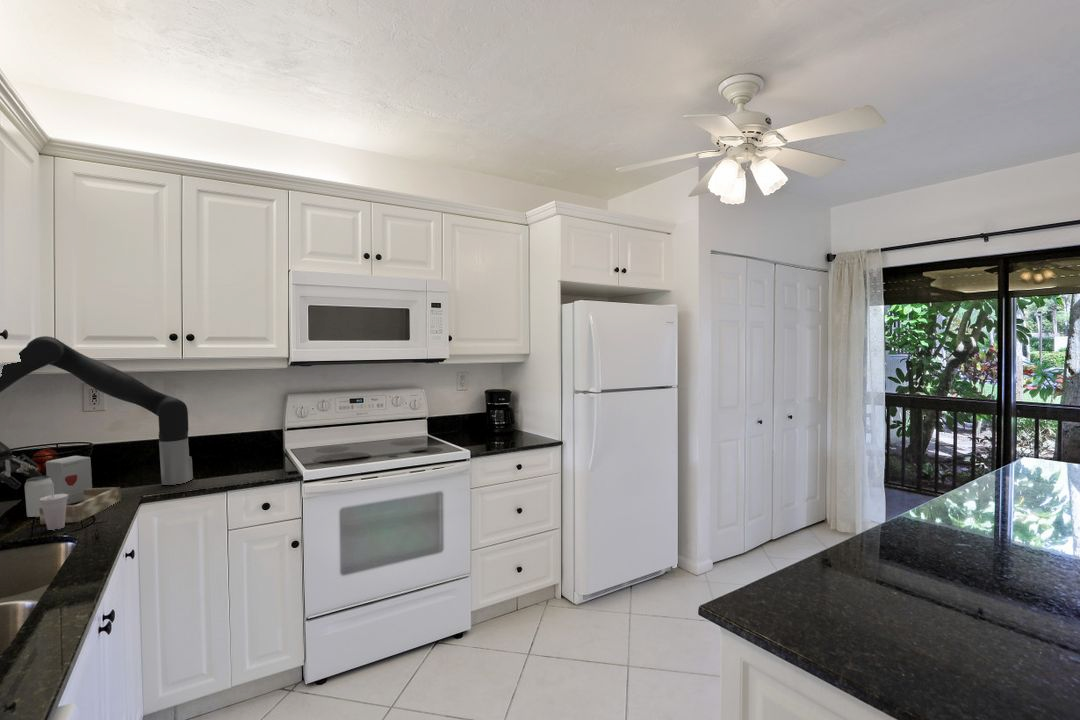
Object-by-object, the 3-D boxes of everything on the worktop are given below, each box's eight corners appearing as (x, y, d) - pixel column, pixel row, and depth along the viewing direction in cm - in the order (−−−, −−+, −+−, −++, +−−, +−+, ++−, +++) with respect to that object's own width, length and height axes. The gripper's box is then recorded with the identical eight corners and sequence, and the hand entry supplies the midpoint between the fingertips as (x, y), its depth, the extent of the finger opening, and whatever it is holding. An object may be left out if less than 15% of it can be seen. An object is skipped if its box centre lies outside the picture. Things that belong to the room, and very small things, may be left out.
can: (37, 518, 164) (34, 481, 163) (21, 517, 165) (18, 480, 164) (59, 511, 170) (57, 475, 169) (44, 510, 171) (41, 475, 170)
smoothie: (37, 533, 151) (33, 487, 150) (47, 526, 157) (44, 481, 156) (65, 530, 153) (61, 484, 153) (74, 522, 159) (71, 478, 159)
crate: (87, 502, 178) (86, 488, 178) (121, 501, 180) (120, 486, 179) (40, 524, 159) (39, 508, 158) (78, 522, 160) (77, 506, 160)
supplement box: (63, 506, 175) (60, 463, 174) (47, 503, 178) (44, 461, 177) (94, 498, 184) (91, 456, 183) (78, 495, 187) (75, 455, 186)
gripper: (-26, 446, 157) (20, 480, 160) (15, 436, 171) (56, 468, 174) (-44, 464, 157) (1, 498, 159) (-2, 453, 171) (39, 485, 173)
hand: (30, 483), depth 166 cm, fingers open, 8 cm apart
